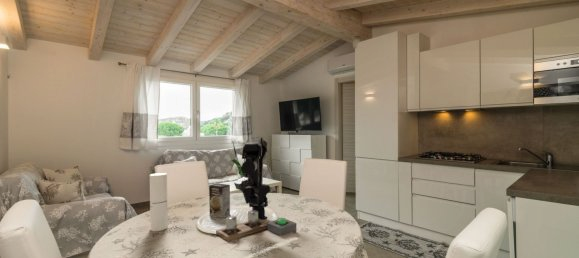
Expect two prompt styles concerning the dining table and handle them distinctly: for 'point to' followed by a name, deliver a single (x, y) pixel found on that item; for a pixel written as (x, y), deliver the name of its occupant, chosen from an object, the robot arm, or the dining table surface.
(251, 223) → the billet loose
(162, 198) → the cylindrical container
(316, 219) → the dining table surface
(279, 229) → the button housing
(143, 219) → the dining table surface
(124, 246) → the dining table surface
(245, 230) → the brown wooden pocket tray
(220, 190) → the coffee box
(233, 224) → the billet seated
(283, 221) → the button
